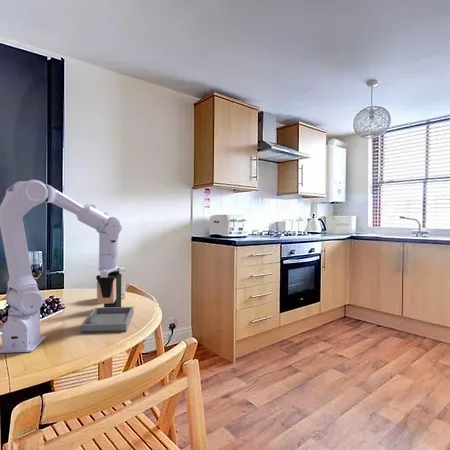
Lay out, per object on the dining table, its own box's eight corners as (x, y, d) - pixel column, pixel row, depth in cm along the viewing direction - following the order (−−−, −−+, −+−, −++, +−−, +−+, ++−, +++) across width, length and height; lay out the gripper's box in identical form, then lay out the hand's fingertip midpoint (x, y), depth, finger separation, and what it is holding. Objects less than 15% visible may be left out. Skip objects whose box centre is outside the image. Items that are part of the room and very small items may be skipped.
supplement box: (101, 299, 134) (102, 267, 133) (109, 296, 138) (109, 265, 138) (119, 301, 131) (119, 269, 131) (125, 298, 136) (126, 267, 136)
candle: (115, 310, 118) (115, 242, 118) (102, 309, 119) (103, 242, 119) (122, 306, 123) (123, 241, 123) (110, 305, 124) (110, 241, 124)
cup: (113, 303, 104) (113, 281, 103) (97, 303, 103) (96, 281, 103) (116, 298, 109) (116, 278, 108) (100, 299, 108) (100, 278, 107)
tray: (126, 331, 98) (126, 323, 98) (80, 333, 96) (80, 325, 96) (133, 313, 116) (133, 306, 116) (95, 314, 114) (95, 307, 114)
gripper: (117, 256, 99) (117, 300, 99) (124, 251, 113) (124, 289, 113) (93, 256, 98) (92, 301, 98) (103, 251, 112) (103, 290, 112)
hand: (108, 295), depth 106 cm, fingers closed on cup, 5 cm apart
